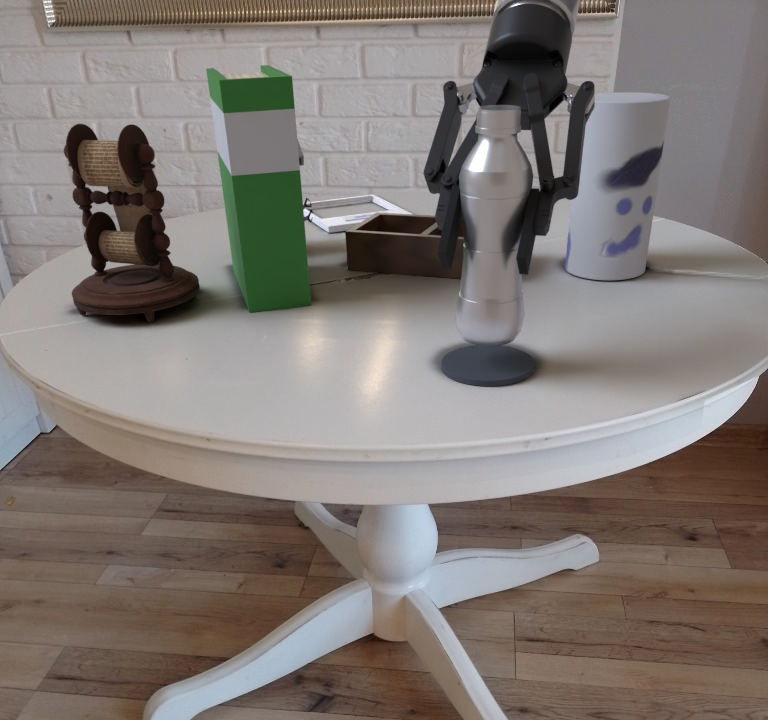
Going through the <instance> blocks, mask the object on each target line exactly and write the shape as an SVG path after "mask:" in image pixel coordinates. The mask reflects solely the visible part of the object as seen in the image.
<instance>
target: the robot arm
mask: <svg viewBox="0 0 768 720" xmlns="http://www.w3.org/2000/svg"><path fill="white" fill-rule="evenodd" d="M580 4H581V0H496V2H495V5H494V9H493V13H492V18H491V26H490V29H489V32H488V37H487V42H486V46H485V50H484V55H483V60H482V66H481V69H480V71H479V73H477V75H476V76H475V77H474V79H473V81H472V82H471V83H468V84H463V85H458V86H457V83H456V82H455V81H454V80H448V81H446V82H445V83H444V84H443V85H442V90H443V107H442V110H441V113H440V117H439V120H438V123H437V125H436V130H435V134H434V135H433V136H434V137H433V140H432V143H431V146H430V149H429V152H428V156H427V158H426V163H425V165H424V168H423V172H422V173H423V177H424V179H425V182H426V186H427V189H428V191H429V193H430V194H432V195H436V194H439V196H438V201H437V205H436V209H435V213H434V216H435V219H436V223H437V225H438V228H439V230H442V234H441V239H440V243H439V248H438V252H437V253H438V256H439V259H440V262H441V264H442V267H443V269H451V268H452V264H453V259H454V255H455V250H456V246H457V241H458V236H459V232H460V227H461V223H462V218H463V216H462V207H461V197H460V188H459V175H460V171H461V168H462V165H463V163H464V161H465V160H466V158H467V156H468V154H469V153H470V151H471V150H472V148H473V147H474V145H475V144H476V142H477V141H478V137H479V134H478V133H476V132H475V126H476V125H477V115H476V116H475V120H474V121H473V123H472V125H471V126H470V128H469V130H468V132H467V133H466V135H465V137H464V139H463V141H462V142H461V143H460V145H459V147H458V148H457V151H456V152H455V154H454V156H453V152H454V149H455V145H456V143H457V139H458V137H459V136H458V135H459V133H460V130H461V126H462V121H463V120H462V119H463V117H462V116H464V115H466V114H467V111H468V109H469V106H470V103H472V102H473V101H474V100H475V101H476V102H477V104H478V107H481V106H489V105H515V106H520V107H521V120H520V125H521V131H530V134H531V139H532V147H533V151H534V158H535V165H536V171H537V178H538V183H539V187H537V188H533V187H532V188H531V190H530V193H529V198H528V203H527V208H526V212H525V217H524V222H523V227H522V232H521V237H520V242H519V247H518V252H517V257H516V259H517V264H518V270H519V274H522V275H525V276H528V275H529V272H530V266H531V261H532V257H533V252H534V246H535V243H536V236H537V237H538V236H539V237H546V236H547V234H548V233H549V232H550V228H551V222H552V219H553V212H554V207H555V205H556V204H557V202H559V201H560V200H563V199H566V200H568V201H571V200H573V199H575V198H576V197H577V196H578V191H579V182H580V172H581V163H582V154H583V145H584V136H585V126H586V123H587V121H588V119H589V117H590V115H591V113H592V111H593V109H594V107H595V94H596V92H595V89H596V88H595V83H594V81H592V80H586V81H584V82H582V83H581V85H575V84H573V83H568V77H567V76H566V74H567V68H568V64H569V60H570V59H569V58H570V54H571V48H572V43H573V35H574V33H575V29H576V23H577V18H578V13H579V9H580V8H579V7H580ZM564 101H565V102H566V110H567V112H568V113H569V118H568V119H569V120H568V128H567V137H566V145H565V155H564V164H563V171H562V172H563V173H562V175H561V176H558V177H555V175H554V169H553V163H552V157H551V151H550V144H549V138H548V133H547V127H546V120H545V119H546V118H547V117H548V116H550V114H551V113H553V112H554V110H556V109H557V108H558V107H559V106H560V105H561V104H562V103H563V102H564ZM452 156H453V158H452ZM451 159H452V160H451Z"/></svg>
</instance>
